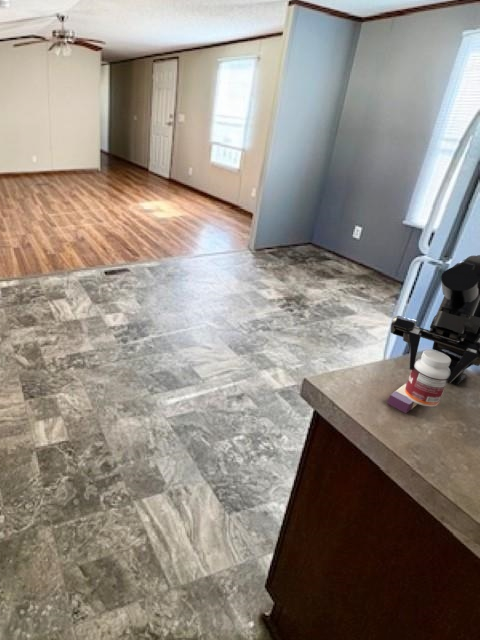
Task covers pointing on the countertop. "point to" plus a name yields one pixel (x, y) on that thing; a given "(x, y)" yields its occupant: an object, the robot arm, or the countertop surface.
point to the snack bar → (401, 400)
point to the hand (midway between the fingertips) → (428, 376)
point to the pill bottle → (428, 378)
